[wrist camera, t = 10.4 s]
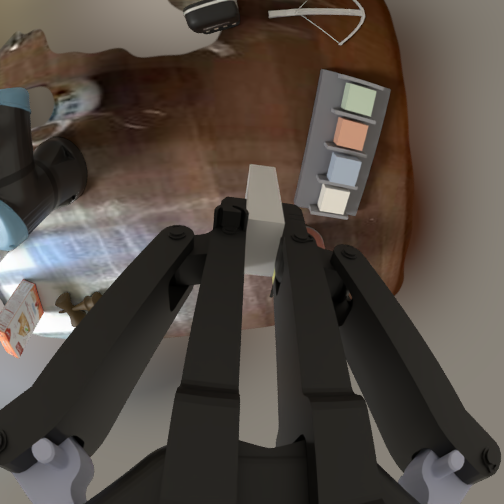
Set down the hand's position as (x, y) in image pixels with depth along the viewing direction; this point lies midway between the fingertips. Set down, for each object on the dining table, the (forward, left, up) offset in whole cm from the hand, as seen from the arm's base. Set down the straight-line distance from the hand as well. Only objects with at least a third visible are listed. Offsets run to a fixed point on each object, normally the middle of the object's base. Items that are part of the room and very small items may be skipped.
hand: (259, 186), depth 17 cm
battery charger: (-8, +15, -33) cm, 37 cm away
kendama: (-44, -53, -33) cm, 76 cm away
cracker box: (-65, -56, -33) cm, 92 cm away
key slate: (+15, -6, -29) cm, 33 cm away
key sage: (+15, +6, -30) cm, 34 cm away
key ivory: (+15, -12, -30) cm, 35 cm away
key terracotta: (+15, 0, -30) cm, 33 cm away
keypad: (+15, -3, -32) cm, 36 cm away
